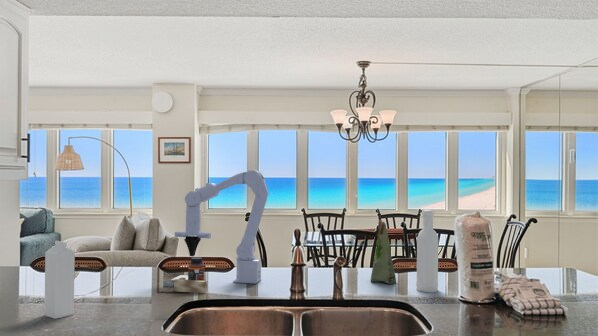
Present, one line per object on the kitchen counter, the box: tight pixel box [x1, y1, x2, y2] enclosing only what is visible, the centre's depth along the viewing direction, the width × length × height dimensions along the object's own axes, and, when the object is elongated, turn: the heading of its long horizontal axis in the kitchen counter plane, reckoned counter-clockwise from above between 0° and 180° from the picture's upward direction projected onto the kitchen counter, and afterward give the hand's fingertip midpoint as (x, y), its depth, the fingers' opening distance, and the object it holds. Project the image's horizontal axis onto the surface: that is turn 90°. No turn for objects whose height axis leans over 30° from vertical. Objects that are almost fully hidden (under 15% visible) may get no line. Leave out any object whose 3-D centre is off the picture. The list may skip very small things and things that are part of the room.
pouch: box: [370, 219, 397, 285], centre depth 208 cm, size 11×12×25 cm
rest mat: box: [170, 274, 188, 282], centre depth 208 cm, size 9×9×1 cm
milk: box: [43, 240, 76, 320], centre depth 155 cm, size 6×6×22 cm
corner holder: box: [173, 278, 208, 294], centre depth 188 cm, size 12×5×4 cm, turn 79°
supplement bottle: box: [187, 256, 205, 281], centre depth 192 cm, size 6×6×11 cm
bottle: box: [415, 209, 439, 293], centre depth 195 cm, size 8×8×30 cm
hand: (192, 255), depth 206 cm, fingers closed
